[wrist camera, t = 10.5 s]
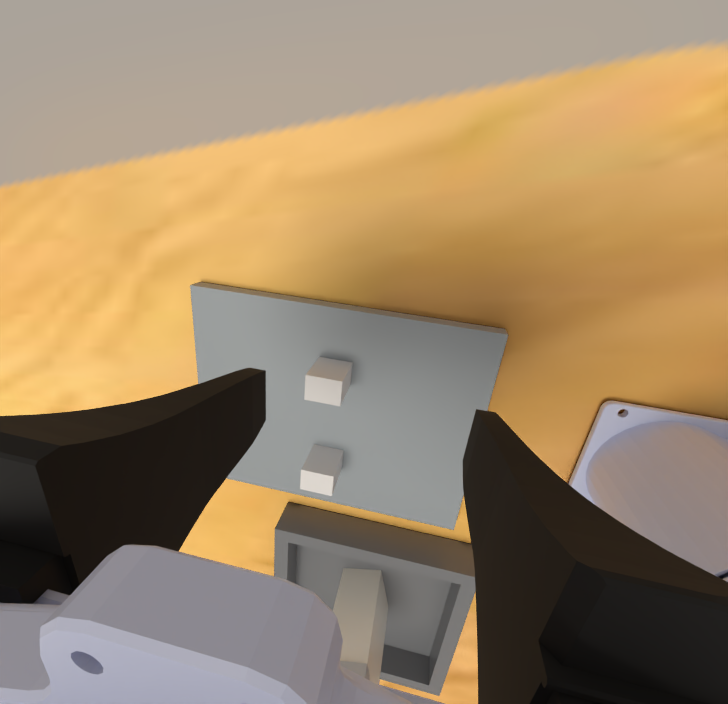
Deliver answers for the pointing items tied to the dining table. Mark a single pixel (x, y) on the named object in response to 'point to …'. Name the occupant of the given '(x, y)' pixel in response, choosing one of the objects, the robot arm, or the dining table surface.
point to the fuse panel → (353, 397)
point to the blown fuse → (362, 621)
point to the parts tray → (386, 584)
